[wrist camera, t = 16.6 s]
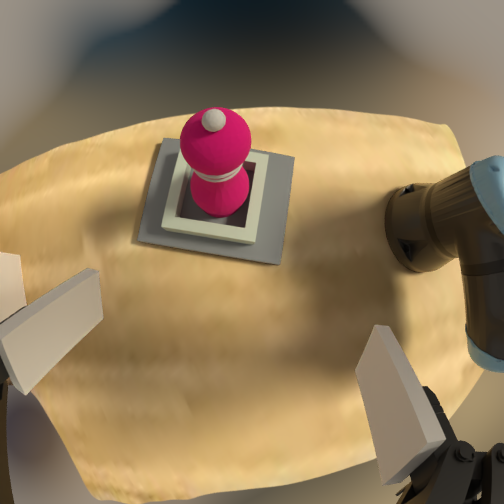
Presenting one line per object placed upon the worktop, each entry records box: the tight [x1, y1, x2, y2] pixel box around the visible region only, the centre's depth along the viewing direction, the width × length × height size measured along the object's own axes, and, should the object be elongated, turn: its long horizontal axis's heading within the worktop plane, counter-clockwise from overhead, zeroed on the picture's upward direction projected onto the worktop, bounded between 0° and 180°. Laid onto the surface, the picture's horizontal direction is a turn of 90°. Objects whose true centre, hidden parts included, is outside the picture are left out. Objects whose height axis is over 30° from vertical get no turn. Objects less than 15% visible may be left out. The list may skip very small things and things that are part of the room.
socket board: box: [137, 138, 295, 265], centre depth 36 cm, size 20×16×4 cm
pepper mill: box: [180, 107, 251, 218], centre depth 27 cm, size 7×7×20 cm
